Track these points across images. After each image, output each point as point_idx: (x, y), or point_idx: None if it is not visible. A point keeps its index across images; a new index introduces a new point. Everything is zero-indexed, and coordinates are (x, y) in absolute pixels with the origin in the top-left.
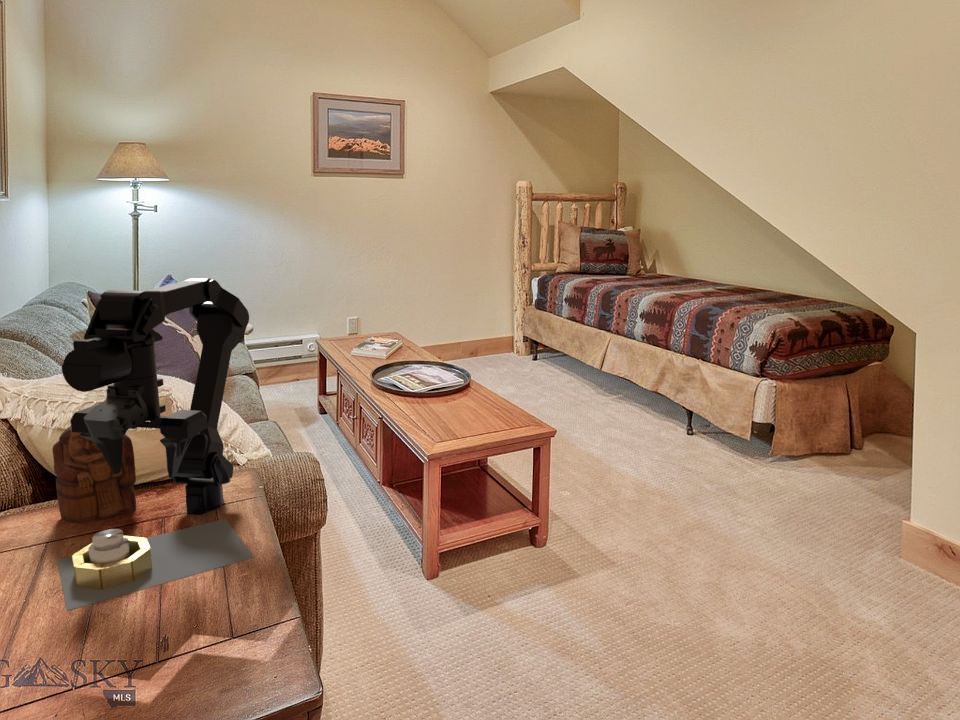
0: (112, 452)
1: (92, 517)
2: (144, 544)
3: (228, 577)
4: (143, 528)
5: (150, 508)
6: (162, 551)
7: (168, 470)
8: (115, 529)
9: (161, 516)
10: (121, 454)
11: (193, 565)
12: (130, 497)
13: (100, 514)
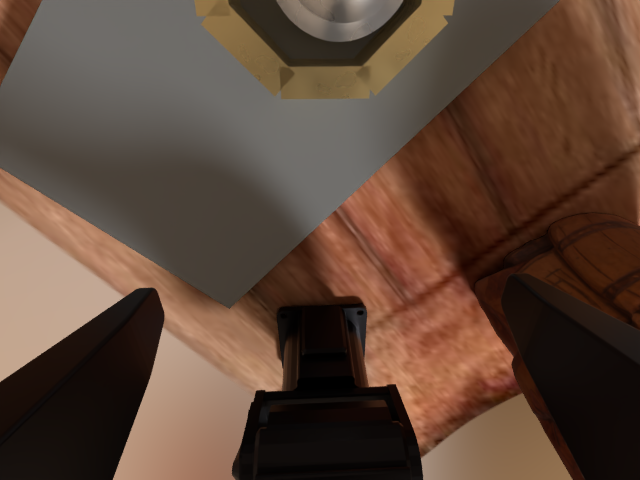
0: (619, 396)
1: (568, 242)
2: (243, 45)
3: (5, 65)
4: (425, 253)
5: (463, 330)
6: (259, 123)
7: (122, 318)
8: (349, 17)
9: (416, 306)
10: (552, 408)
11: (96, 60)
12: (504, 326)
13: (553, 258)
